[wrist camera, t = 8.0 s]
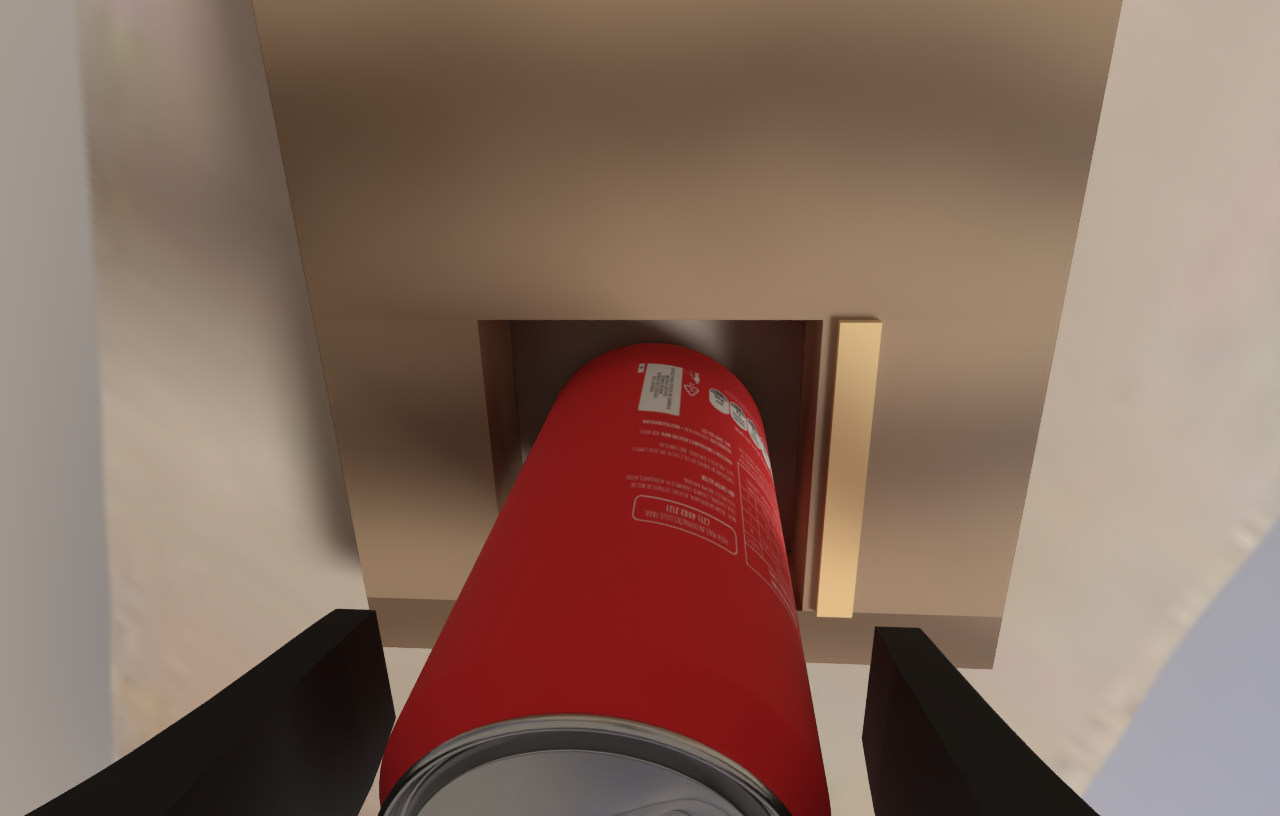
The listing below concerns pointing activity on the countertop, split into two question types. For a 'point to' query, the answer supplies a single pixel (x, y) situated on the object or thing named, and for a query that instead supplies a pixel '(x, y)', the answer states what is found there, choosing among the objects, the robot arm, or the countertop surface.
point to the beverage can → (623, 621)
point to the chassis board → (698, 258)
